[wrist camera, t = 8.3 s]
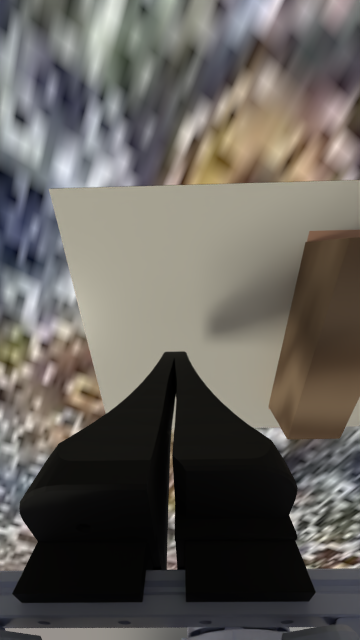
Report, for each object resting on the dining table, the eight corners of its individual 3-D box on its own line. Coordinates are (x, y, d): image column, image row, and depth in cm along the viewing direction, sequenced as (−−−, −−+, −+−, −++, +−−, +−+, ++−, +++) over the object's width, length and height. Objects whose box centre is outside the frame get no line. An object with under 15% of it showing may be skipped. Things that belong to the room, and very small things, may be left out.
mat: (444, 419, 17) (451, 424, 17) (111, 425, 17) (110, 430, 17) (632, 175, 10) (655, 171, 9) (55, 192, 10) (49, 188, 10)
